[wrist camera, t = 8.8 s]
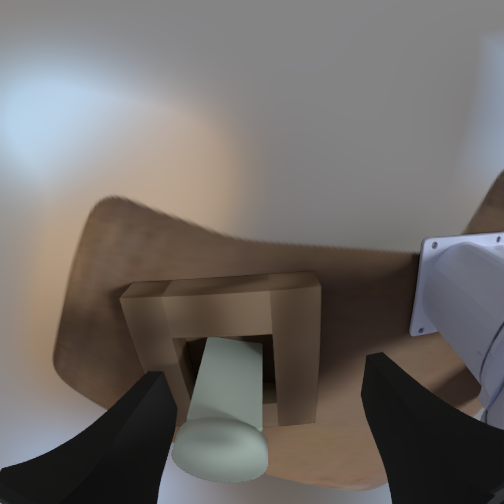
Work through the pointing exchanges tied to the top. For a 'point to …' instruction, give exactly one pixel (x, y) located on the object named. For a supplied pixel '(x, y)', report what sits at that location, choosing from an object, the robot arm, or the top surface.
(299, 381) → the walnut holder
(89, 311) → the top surface
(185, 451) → the green peg
